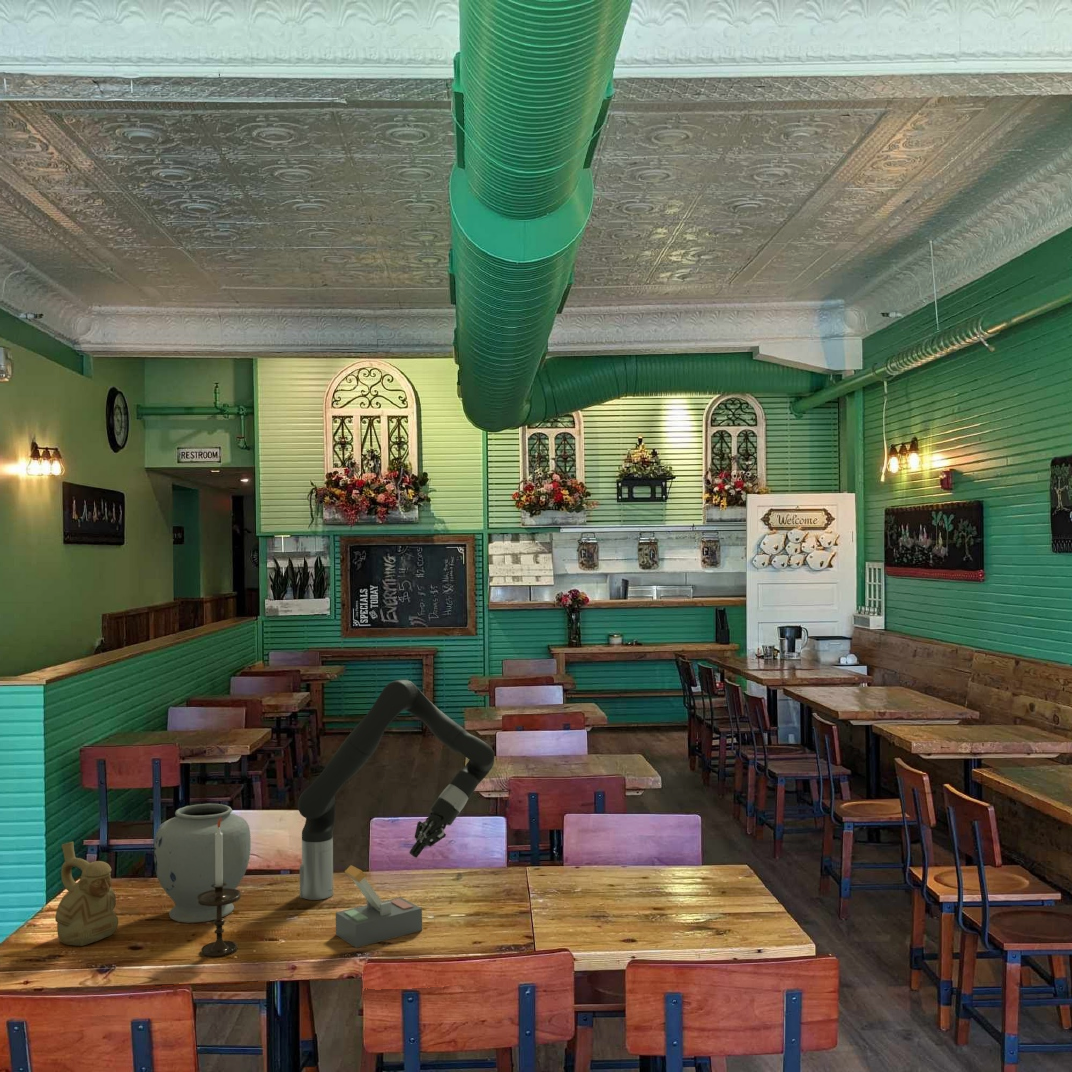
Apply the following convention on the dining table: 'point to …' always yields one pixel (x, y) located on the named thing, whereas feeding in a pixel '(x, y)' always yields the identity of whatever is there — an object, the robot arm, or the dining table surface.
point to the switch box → (378, 922)
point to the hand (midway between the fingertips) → (412, 855)
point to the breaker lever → (364, 886)
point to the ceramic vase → (199, 858)
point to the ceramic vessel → (85, 901)
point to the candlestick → (219, 903)
